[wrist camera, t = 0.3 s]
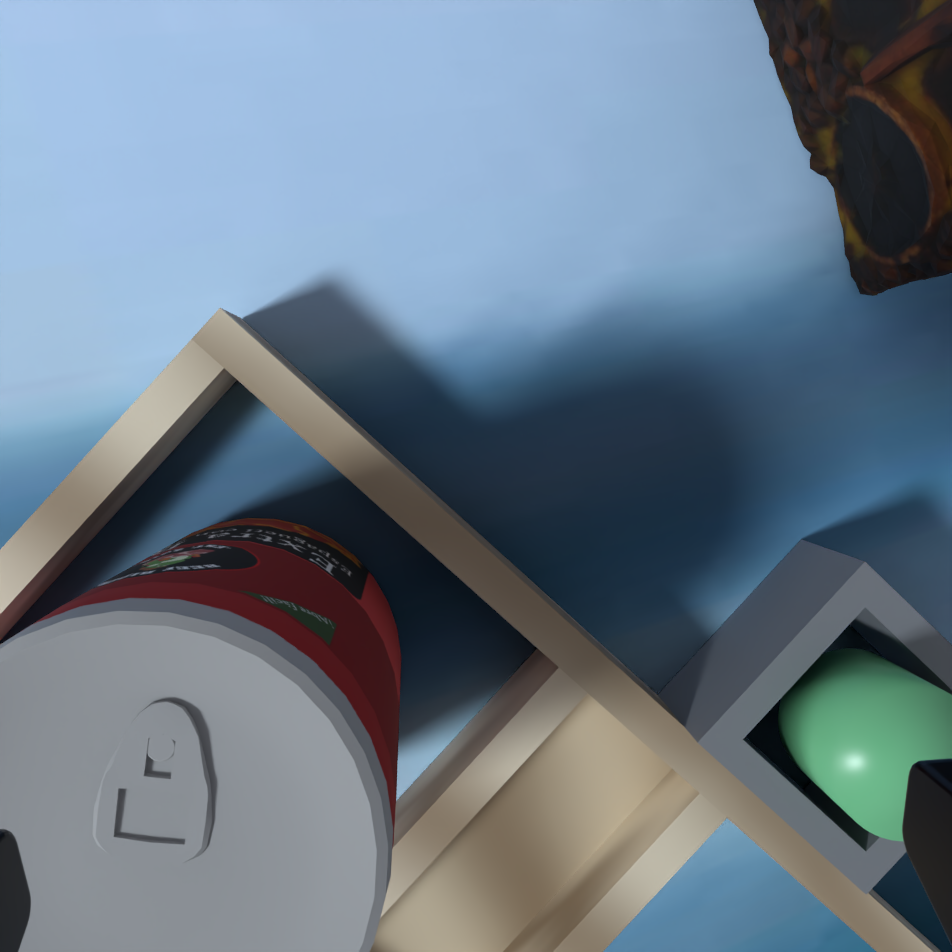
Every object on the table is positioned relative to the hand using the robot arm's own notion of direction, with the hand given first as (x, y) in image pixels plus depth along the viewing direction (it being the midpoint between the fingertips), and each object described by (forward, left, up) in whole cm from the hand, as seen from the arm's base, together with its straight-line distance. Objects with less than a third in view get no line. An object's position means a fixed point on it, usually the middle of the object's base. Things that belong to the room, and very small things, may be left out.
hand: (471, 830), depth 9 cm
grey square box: (+4, -10, -15) cm, 19 cm away
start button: (+4, -10, -13) cm, 17 cm away
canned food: (-5, +2, -16) cm, 16 cm away
